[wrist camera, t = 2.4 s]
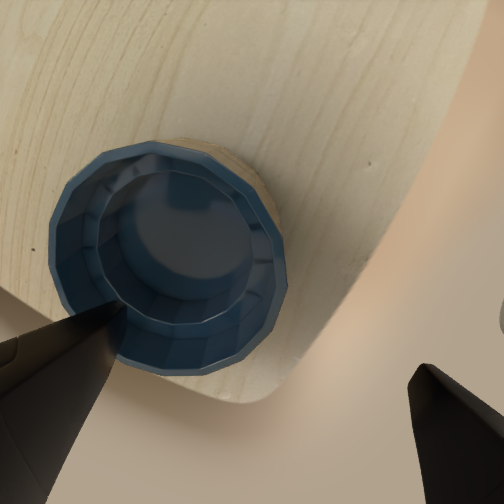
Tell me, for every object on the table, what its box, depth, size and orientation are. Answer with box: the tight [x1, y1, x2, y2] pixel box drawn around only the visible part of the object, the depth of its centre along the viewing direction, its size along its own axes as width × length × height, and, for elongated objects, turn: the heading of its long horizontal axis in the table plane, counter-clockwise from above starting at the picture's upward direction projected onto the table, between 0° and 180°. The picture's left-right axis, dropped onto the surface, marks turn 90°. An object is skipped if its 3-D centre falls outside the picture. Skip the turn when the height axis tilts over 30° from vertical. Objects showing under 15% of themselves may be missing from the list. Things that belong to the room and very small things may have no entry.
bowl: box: [48, 138, 288, 376], centre depth 13 cm, size 9×9×5 cm
